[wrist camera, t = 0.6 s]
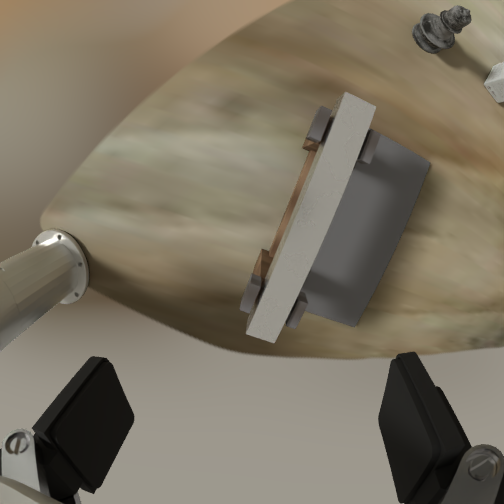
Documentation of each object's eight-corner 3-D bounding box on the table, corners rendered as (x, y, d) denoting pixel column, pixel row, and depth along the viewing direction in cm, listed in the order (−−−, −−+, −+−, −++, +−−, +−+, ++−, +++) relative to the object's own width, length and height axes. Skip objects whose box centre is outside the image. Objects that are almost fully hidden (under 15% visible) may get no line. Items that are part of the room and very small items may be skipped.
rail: (273, 328, 32) (274, 343, 29) (247, 319, 32) (245, 333, 29) (365, 111, 25) (376, 106, 22) (337, 98, 25) (345, 91, 22)
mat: (353, 325, 42) (354, 327, 42) (293, 304, 42) (293, 306, 41) (428, 162, 35) (430, 162, 35) (368, 128, 35) (369, 128, 34)
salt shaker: (449, 47, 29) (494, 24, 18) (428, 60, 31) (473, 37, 19) (425, 17, 28) (464, -14, 17) (402, 29, 30) (441, -4, 18)
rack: (287, 281, 41) (295, 329, 29) (247, 266, 41) (239, 310, 29) (345, 142, 35) (381, 134, 23) (303, 123, 35) (321, 105, 23)
